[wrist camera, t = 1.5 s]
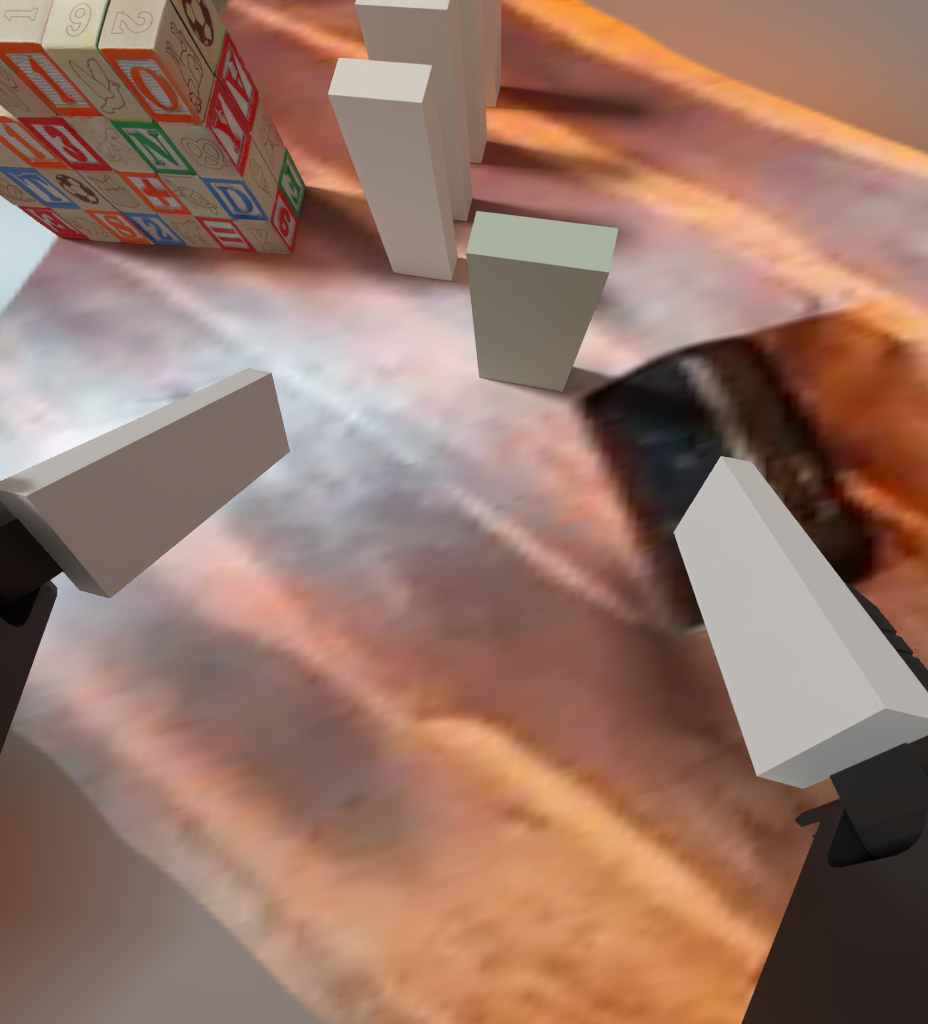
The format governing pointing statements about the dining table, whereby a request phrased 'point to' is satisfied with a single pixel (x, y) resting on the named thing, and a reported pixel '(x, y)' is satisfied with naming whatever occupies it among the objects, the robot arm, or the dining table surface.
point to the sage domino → (534, 294)
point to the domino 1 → (433, 41)
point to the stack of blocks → (140, 127)
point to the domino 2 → (399, 160)
